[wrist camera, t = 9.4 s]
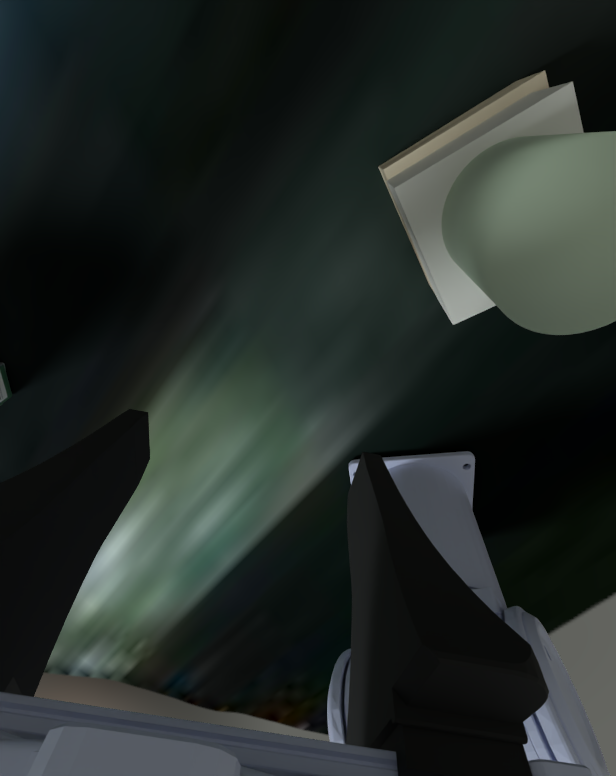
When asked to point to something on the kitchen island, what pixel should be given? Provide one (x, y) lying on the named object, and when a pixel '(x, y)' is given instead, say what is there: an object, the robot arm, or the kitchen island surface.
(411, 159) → the tower base block
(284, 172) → the kitchen island surface
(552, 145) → the sage cylinder
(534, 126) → the tower top block
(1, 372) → the coffee box
